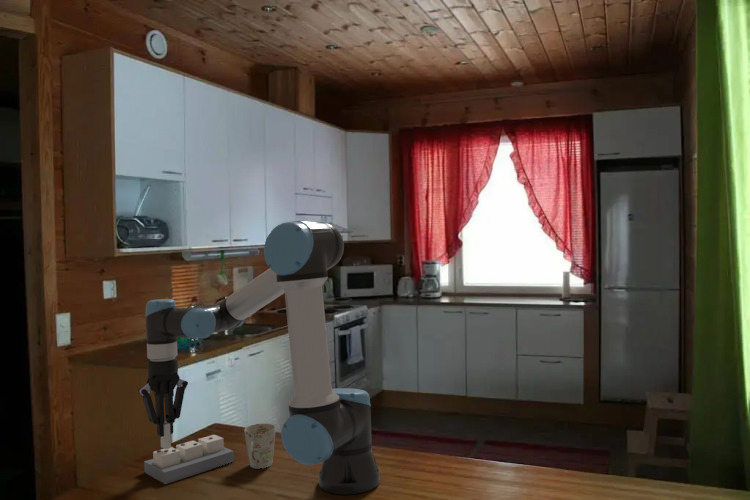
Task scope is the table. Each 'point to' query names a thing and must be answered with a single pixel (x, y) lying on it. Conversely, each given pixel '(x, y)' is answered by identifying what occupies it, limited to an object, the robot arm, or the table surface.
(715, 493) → the table surface
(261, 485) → the table surface
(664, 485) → the table surface
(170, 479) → the board
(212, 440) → the white block
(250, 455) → the mug
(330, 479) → the robot arm
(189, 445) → the white die
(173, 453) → the white block with dots
